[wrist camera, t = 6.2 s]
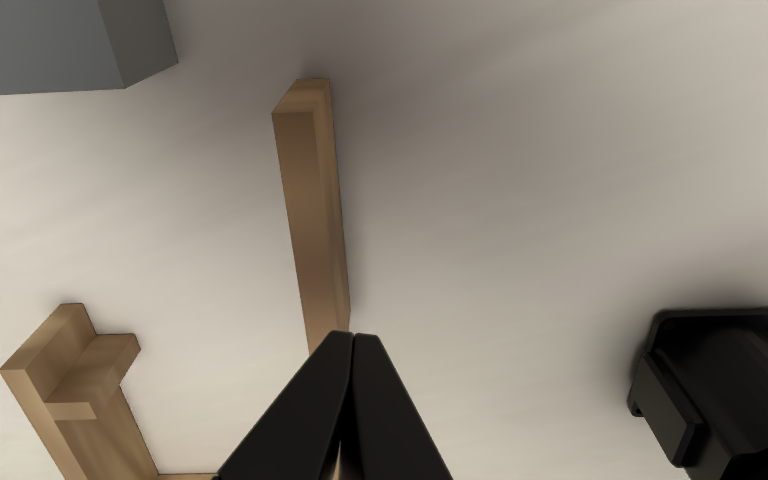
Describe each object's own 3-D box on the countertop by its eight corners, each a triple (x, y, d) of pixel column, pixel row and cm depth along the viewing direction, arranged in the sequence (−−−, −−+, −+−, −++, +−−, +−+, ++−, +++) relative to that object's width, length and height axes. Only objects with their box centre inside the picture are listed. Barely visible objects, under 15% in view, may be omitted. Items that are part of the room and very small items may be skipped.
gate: (350, 309, 21) (343, 381, 18) (325, 310, 21) (313, 382, 18) (328, 77, 16) (312, 111, 13) (296, 79, 16) (271, 113, 13)
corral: (348, 295, 21) (340, 377, 17) (366, 480, 28) (362, 571, 24) (60, 304, 21) (-18, 386, 17) (146, 485, 28) (105, 575, 24)
